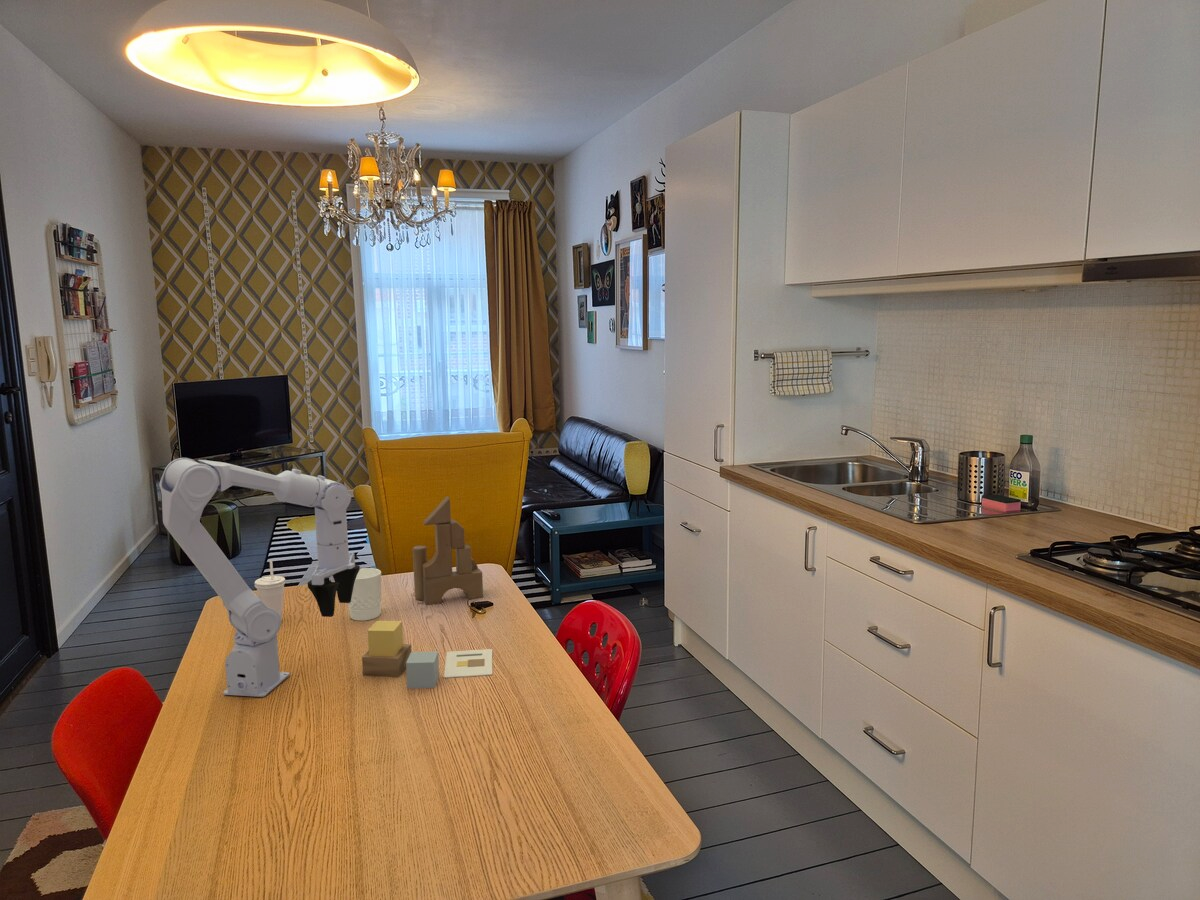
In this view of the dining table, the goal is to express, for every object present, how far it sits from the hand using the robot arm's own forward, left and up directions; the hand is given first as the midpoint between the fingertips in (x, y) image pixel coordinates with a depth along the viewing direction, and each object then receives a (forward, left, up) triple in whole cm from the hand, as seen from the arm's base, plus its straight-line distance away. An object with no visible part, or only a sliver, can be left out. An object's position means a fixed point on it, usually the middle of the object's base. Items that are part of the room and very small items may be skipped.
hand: (336, 609), depth 161 cm
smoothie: (+18, +24, -11) cm, 32 cm away
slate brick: (-8, -20, -10) cm, 24 cm away
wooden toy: (+38, -10, -11) cm, 41 cm away
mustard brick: (-3, -11, -7) cm, 13 cm away
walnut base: (-3, -11, -11) cm, 16 cm away
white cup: (+24, +5, -11) cm, 27 cm away
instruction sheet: (+1, -26, -10) cm, 28 cm away
